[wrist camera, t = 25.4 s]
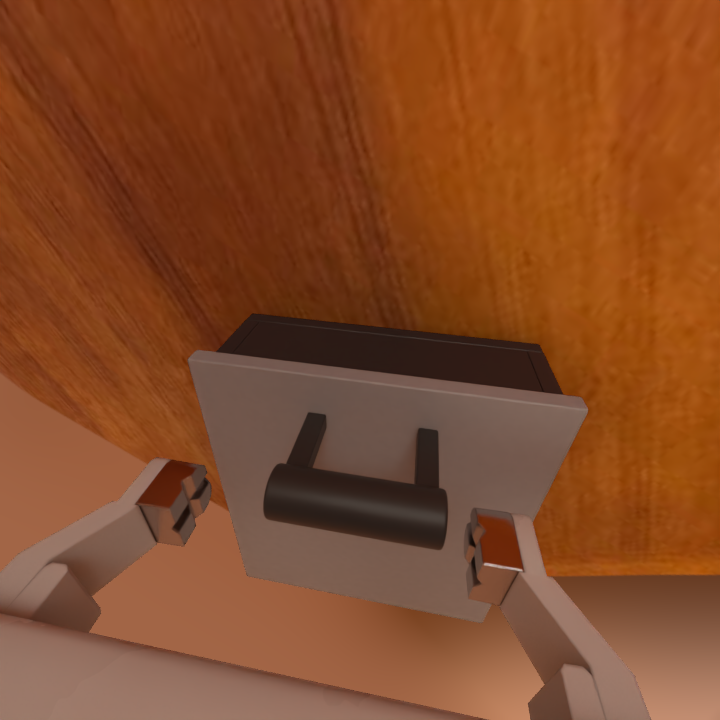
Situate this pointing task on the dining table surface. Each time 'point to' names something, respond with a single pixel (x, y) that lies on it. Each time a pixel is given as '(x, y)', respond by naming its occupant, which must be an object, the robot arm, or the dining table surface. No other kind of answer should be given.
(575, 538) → the dining table surface
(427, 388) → the grey box lid
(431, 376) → the dark grey square tray
